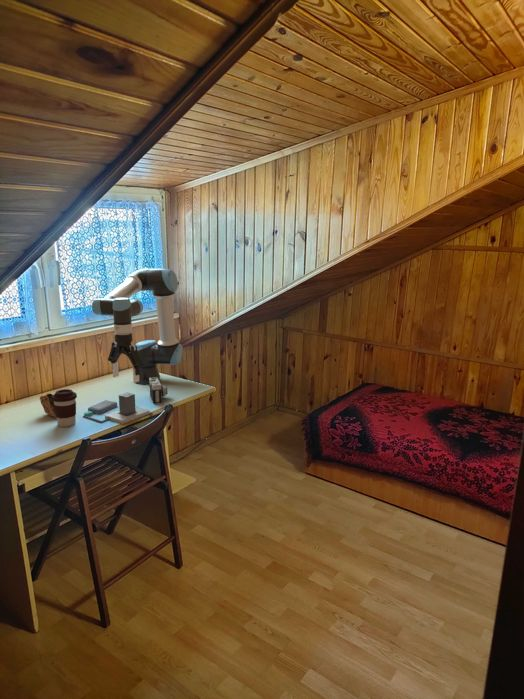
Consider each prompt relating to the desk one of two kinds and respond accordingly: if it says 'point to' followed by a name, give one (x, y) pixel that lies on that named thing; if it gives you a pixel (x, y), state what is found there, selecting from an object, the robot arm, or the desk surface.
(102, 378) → the desk surface
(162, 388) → the camera
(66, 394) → the coffee cup
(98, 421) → the cable
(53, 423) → the desk surface
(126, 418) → the outlet plate
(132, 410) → the charger block
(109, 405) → the flat grey block
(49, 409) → the decorative rock
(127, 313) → the robot arm
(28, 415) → the desk surface
